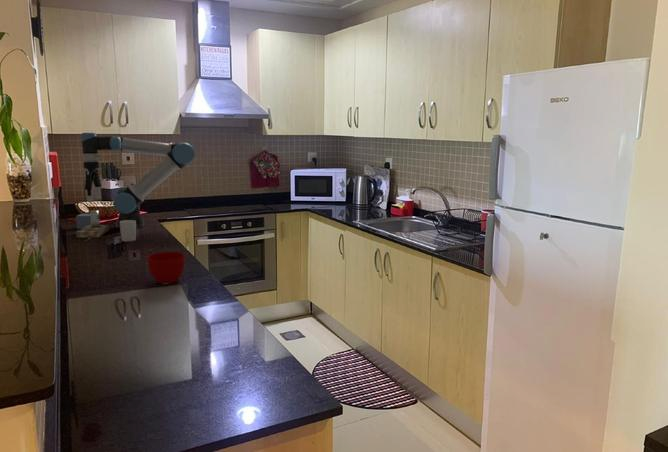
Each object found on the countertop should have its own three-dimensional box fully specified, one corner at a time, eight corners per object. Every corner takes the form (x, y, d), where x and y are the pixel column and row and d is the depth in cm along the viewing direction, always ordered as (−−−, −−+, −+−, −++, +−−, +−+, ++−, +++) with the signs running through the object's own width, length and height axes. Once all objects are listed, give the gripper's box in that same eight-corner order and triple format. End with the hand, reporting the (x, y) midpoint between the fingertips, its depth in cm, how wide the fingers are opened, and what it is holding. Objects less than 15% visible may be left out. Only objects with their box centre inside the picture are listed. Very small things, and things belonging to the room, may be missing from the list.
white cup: (131, 242, 251) (130, 222, 250) (117, 241, 253) (116, 222, 251) (140, 239, 259) (139, 220, 257) (126, 238, 261) (125, 219, 259)
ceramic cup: (167, 273, 196) (165, 248, 194) (192, 281, 185) (191, 255, 183) (136, 280, 186) (134, 254, 184) (161, 289, 175) (160, 262, 173)
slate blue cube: (98, 226, 293) (97, 213, 291) (93, 229, 284) (92, 215, 283) (82, 227, 291) (81, 213, 290) (77, 229, 282) (76, 216, 281)
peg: (101, 231, 279) (99, 210, 277) (99, 232, 275) (97, 211, 273) (93, 231, 278) (91, 210, 276) (90, 232, 274) (88, 211, 272)
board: (108, 230, 282) (108, 225, 282) (98, 237, 263) (98, 231, 262) (88, 230, 280) (87, 225, 280) (76, 237, 261) (75, 232, 260)
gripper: (91, 162, 258) (94, 202, 262) (104, 160, 282) (107, 197, 286) (75, 162, 257) (79, 203, 261) (90, 160, 281) (93, 197, 285)
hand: (94, 200), depth 273 cm, fingers open, 13 cm apart
